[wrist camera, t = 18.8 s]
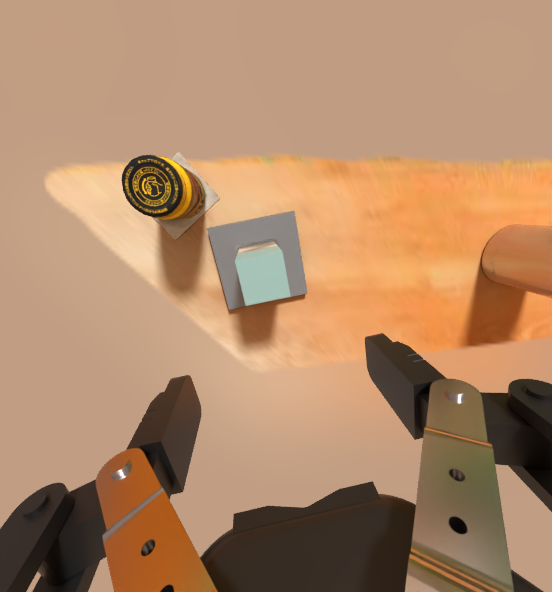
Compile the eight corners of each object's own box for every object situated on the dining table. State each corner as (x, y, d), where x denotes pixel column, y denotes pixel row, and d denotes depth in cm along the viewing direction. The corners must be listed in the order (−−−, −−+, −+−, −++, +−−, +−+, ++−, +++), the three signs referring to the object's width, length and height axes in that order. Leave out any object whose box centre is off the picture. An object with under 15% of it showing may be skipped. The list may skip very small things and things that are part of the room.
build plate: (292, 210, 37) (294, 210, 36) (305, 291, 40) (307, 293, 39) (208, 227, 36) (207, 228, 35) (229, 307, 40) (228, 309, 39)
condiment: (219, 198, 35) (205, 192, 24) (175, 240, 36) (142, 253, 25) (179, 151, 33) (142, 120, 22) (133, 197, 34) (75, 191, 23)
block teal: (277, 245, 32) (282, 251, 27) (284, 284, 33) (290, 296, 29) (237, 253, 32) (234, 261, 27) (246, 292, 33) (245, 305, 28)
